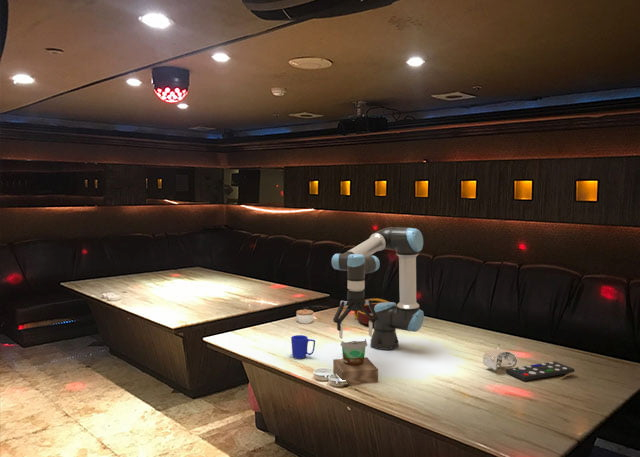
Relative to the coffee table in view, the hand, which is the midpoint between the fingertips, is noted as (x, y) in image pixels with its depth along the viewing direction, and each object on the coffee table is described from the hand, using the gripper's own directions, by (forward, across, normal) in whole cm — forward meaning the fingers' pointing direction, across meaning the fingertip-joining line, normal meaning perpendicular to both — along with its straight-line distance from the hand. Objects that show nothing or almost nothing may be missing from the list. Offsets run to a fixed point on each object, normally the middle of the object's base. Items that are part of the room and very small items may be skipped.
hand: (355, 336), depth 220 cm
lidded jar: (+19, +6, -94) cm, 96 cm away
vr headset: (+19, -70, +1) cm, 73 cm away
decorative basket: (+20, -40, -90) cm, 101 cm away
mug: (+19, +18, -31) cm, 40 cm away
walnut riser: (+18, 0, 0) cm, 18 cm away
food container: (+12, 0, 0) cm, 12 cm away
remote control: (+20, -86, +8) cm, 89 cm away
